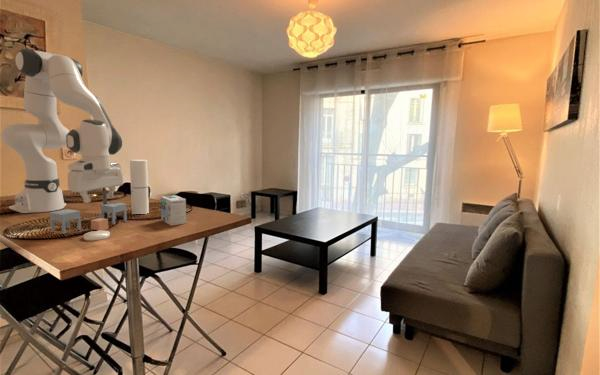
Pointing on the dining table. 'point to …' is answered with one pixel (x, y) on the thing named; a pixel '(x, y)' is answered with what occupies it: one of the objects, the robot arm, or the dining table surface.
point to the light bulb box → (173, 210)
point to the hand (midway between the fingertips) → (99, 200)
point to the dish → (96, 235)
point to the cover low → (65, 219)
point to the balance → (103, 202)
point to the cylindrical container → (139, 186)
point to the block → (99, 224)
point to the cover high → (114, 210)
